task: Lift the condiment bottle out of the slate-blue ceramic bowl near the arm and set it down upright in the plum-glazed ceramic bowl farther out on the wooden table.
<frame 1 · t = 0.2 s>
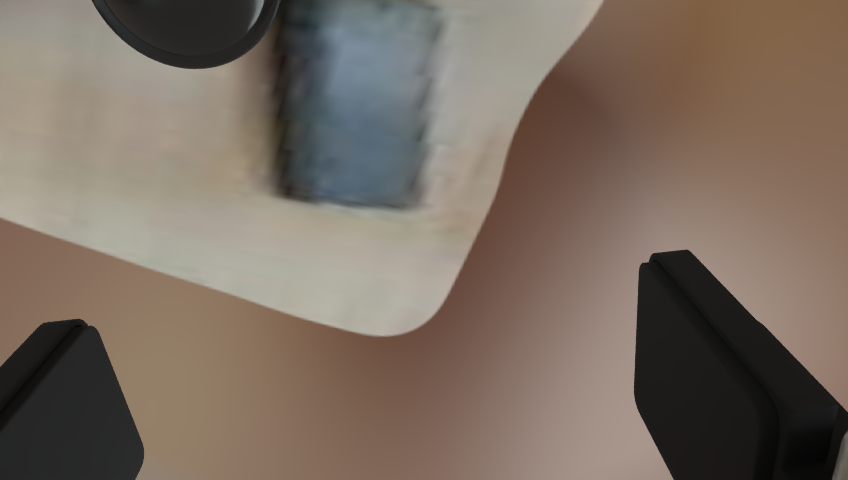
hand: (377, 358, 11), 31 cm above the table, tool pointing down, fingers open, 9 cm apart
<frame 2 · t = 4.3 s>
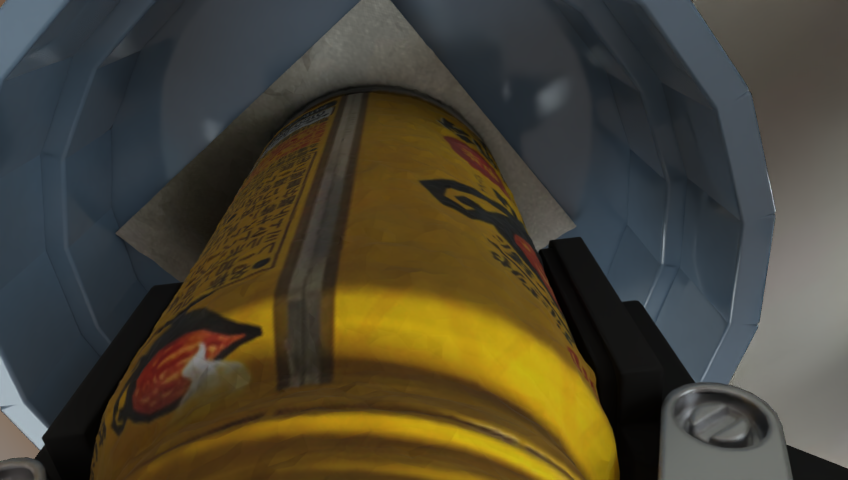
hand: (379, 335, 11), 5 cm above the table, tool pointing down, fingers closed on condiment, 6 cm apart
condiment: (351, 221, 16), resting on slate bowl, touching gripper
slate bowl: (375, 208, 16), on the table
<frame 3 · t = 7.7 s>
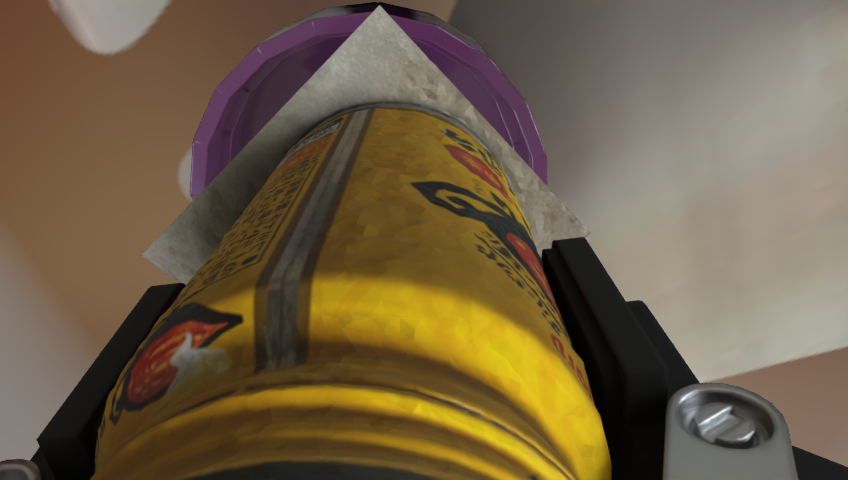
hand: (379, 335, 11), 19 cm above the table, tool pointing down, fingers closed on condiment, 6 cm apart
plum bowl: (375, 162, 30), on the table
condiment: (366, 236, 16), point 14 cm above the table, touching gripper
when the fingers open (5 cm above the table, at t = 11.4 s): condiment stays where it is, resting on plum bowl.
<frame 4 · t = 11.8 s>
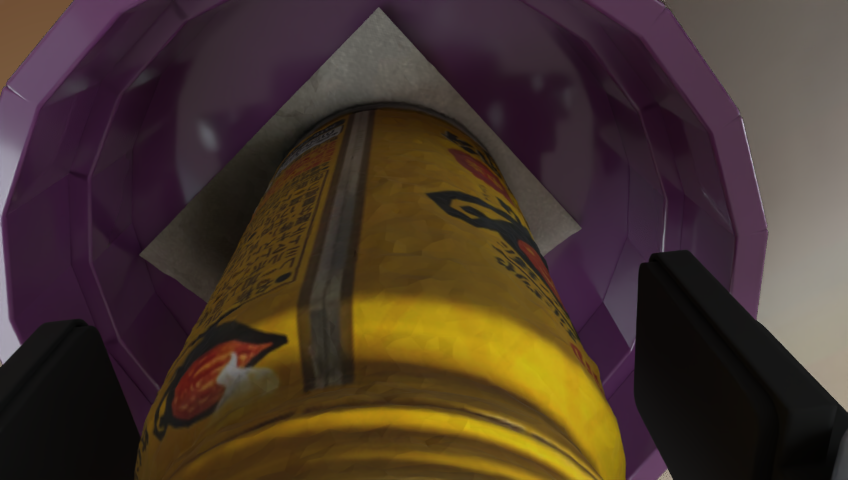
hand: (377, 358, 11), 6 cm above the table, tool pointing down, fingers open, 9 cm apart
plum bowl: (385, 223, 16), on the table
condiment: (363, 233, 16), resting on plum bowl
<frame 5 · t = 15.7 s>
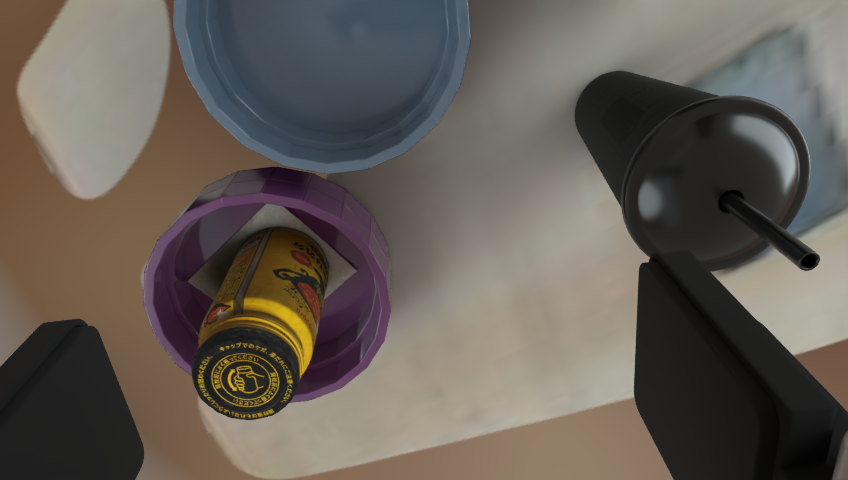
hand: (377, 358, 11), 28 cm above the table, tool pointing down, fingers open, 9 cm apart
plum bowl: (282, 268, 42), on the table
drinking cup: (612, 111, 38), on the table
condiment: (273, 272, 42), resting on plum bowl
slate bowl: (333, 22, 35), on the table
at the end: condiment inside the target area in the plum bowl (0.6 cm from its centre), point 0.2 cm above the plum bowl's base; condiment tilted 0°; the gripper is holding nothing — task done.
